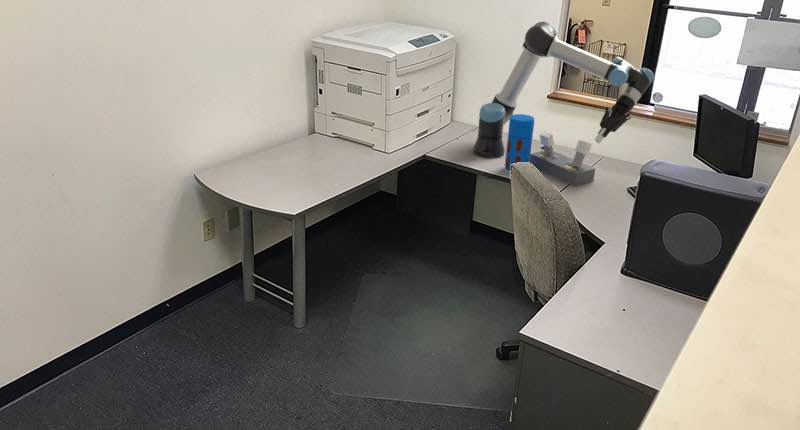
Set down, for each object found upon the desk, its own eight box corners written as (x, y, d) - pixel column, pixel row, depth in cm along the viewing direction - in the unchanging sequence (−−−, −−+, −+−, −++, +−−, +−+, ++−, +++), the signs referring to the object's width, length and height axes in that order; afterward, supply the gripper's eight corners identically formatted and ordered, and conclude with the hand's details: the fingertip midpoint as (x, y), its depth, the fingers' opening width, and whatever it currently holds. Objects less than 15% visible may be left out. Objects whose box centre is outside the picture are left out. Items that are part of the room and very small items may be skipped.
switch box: (529, 165, 292) (530, 151, 289) (547, 161, 298) (549, 146, 295) (574, 186, 271) (577, 171, 268) (593, 181, 277) (595, 165, 274)
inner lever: (542, 154, 289) (539, 134, 283) (547, 151, 290) (544, 131, 284) (550, 157, 285) (547, 137, 279) (555, 154, 286) (552, 134, 280)
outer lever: (569, 163, 277) (579, 139, 274) (573, 164, 279) (583, 140, 276) (578, 166, 273) (587, 143, 271) (582, 167, 275) (591, 144, 272)
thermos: (527, 175, 281) (534, 122, 270) (503, 173, 283) (509, 120, 272) (528, 167, 291) (534, 115, 280) (505, 164, 292) (510, 113, 281)
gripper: (643, 108, 275) (611, 150, 274) (618, 101, 285) (588, 142, 284) (637, 98, 270) (605, 141, 269) (613, 91, 280) (582, 132, 279)
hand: (597, 141), depth 277 cm, fingers closed
